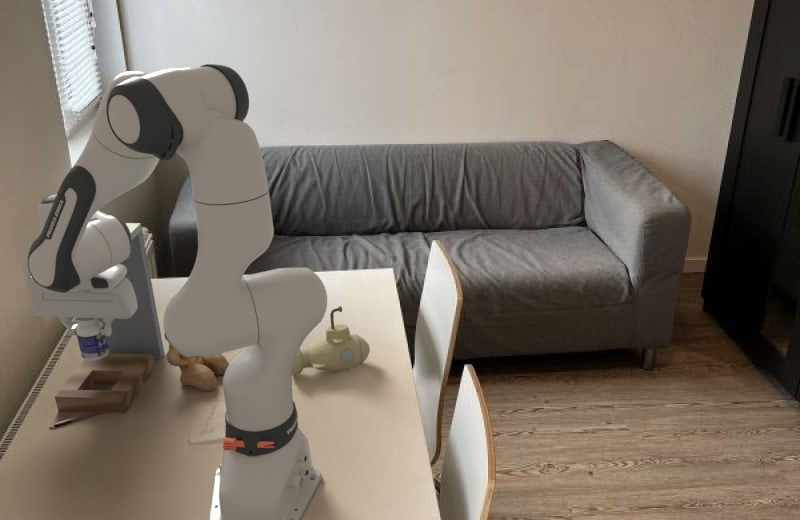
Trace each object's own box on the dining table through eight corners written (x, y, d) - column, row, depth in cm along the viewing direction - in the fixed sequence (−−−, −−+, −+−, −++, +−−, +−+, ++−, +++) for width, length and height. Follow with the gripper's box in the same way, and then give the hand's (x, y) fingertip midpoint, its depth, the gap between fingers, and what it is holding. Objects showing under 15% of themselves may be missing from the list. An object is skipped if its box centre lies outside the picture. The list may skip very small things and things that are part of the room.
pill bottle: (106, 360, 155) (97, 322, 151) (78, 362, 154) (69, 324, 150) (112, 346, 159) (103, 308, 155) (86, 348, 159) (77, 310, 155)
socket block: (125, 413, 154) (122, 398, 153) (58, 411, 156) (54, 396, 154) (154, 368, 169) (152, 354, 167) (92, 366, 170) (89, 353, 168)
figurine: (216, 396, 159) (183, 336, 153) (178, 403, 162) (145, 345, 156) (235, 365, 168) (205, 308, 162) (200, 372, 171) (169, 316, 165)
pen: (50, 431, 150) (48, 426, 150) (49, 428, 151) (48, 424, 151) (110, 412, 155) (109, 408, 155) (109, 410, 156) (108, 406, 156)
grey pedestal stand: (148, 378, 165) (121, 243, 152) (84, 377, 166) (52, 242, 153) (164, 353, 174) (140, 223, 161) (104, 352, 175) (75, 222, 162)
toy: (374, 373, 165) (372, 312, 159) (294, 388, 161) (287, 325, 155) (365, 353, 173) (362, 293, 166) (288, 366, 169) (282, 305, 162)
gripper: (16, 279, 146) (33, 341, 152) (120, 281, 145) (133, 344, 151) (33, 264, 152) (48, 324, 158) (134, 266, 150) (145, 327, 156)
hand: (90, 334), depth 154 cm, fingers closed on pill bottle, 5 cm apart
